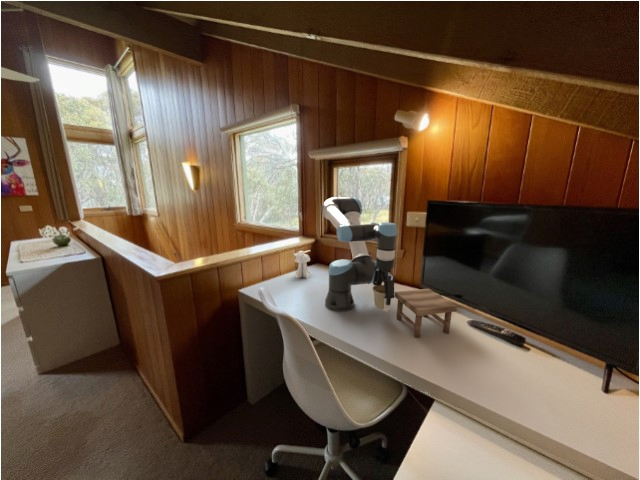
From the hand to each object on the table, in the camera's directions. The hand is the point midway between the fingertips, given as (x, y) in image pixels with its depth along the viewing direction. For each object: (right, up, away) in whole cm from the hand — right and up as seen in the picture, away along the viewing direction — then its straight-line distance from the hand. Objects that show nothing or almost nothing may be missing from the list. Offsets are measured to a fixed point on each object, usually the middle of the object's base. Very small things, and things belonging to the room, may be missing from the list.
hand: (381, 305), depth 112 cm
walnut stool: (+17, -8, -2) cm, 19 cm away
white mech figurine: (-40, +5, +59) cm, 72 cm away
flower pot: (0, -1, 0) cm, 1 cm away
